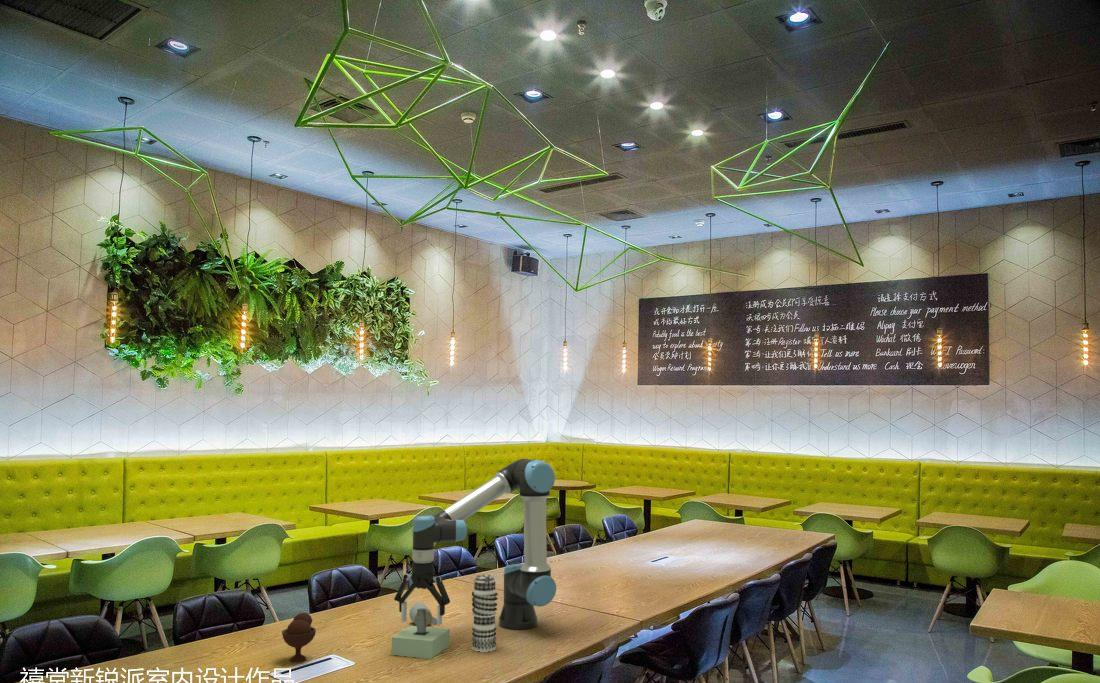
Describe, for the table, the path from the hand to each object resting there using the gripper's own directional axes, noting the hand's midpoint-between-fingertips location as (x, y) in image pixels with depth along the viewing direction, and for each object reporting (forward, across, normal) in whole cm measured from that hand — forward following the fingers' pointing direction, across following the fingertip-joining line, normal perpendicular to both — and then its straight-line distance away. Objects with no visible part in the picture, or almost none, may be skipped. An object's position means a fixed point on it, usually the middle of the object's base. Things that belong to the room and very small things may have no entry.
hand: (421, 623), depth 270 cm
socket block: (+9, 0, 0) cm, 9 cm away
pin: (+9, 0, 0) cm, 9 cm away
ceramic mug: (+10, -13, +31) cm, 35 cm away
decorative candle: (+9, +20, +9) cm, 24 cm away
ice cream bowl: (+9, -35, -21) cm, 42 cm away
